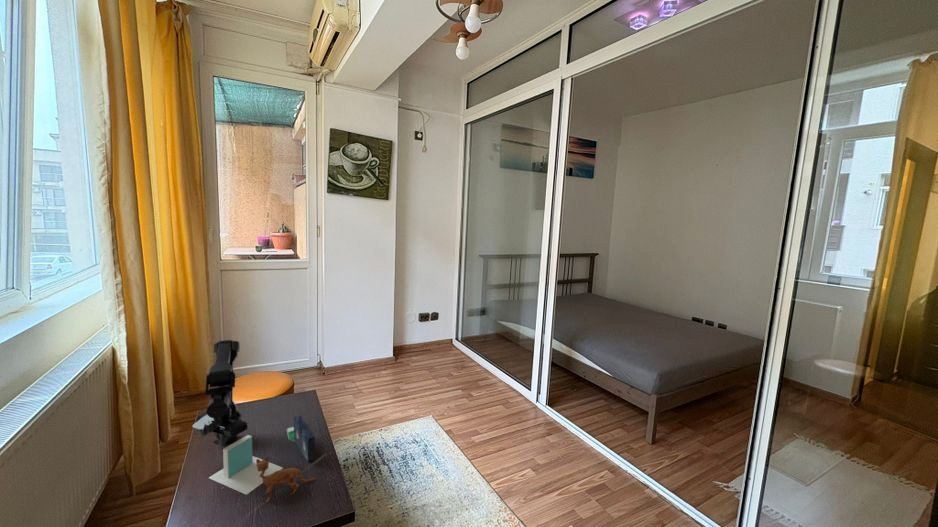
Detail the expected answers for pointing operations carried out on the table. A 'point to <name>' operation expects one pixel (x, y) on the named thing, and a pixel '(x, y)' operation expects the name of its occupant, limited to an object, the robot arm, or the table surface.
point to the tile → (237, 456)
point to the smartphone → (290, 433)
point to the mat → (245, 477)
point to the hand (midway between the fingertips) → (222, 445)
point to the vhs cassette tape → (304, 438)
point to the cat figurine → (279, 477)
